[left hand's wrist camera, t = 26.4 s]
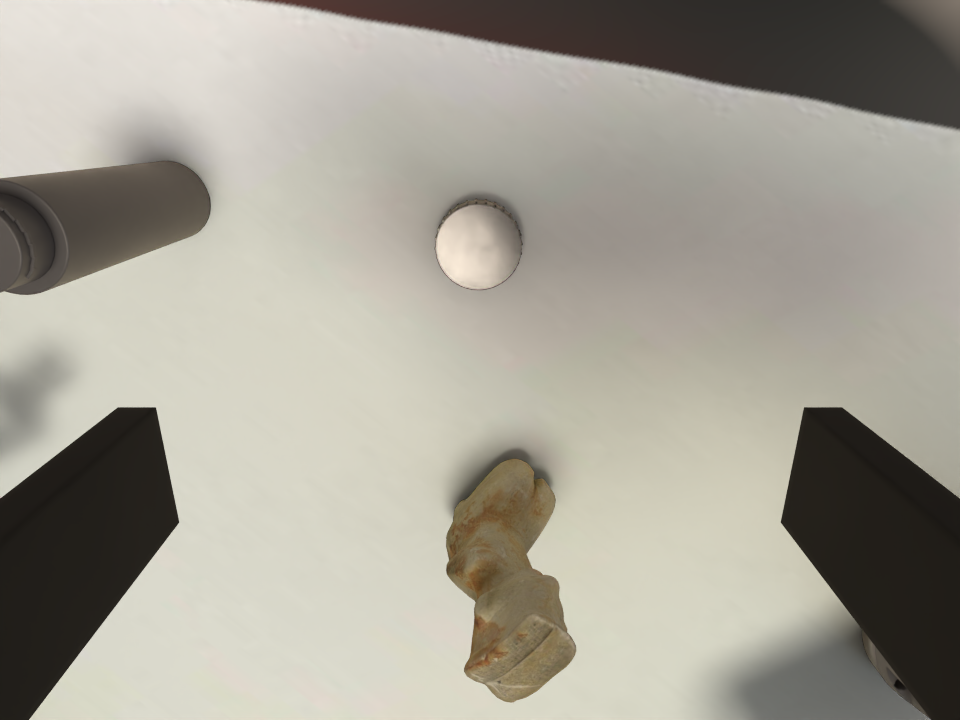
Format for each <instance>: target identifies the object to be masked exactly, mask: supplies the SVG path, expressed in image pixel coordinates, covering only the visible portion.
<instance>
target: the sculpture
mask: <svg viewBox="0 0 960 720" xmlns="http://www.w3.org/2000/svg"><path fill="white" fill-rule="evenodd" d="M555 501H556V500H555V495H554V493H553V492H552V490H551V489H550V487H549V486H548V485H547V483H546V482H545V480H543V479H534V471H533V470H532V468H531V467H530V466H529V464H527V463H526V462H524V461H522V460H519V459H510V460H506V461H504V462H502V463H500V464H499V465H497V466H496V467H495V468H494V469H493V470H492V471H491V472H490V473H489V474H488V475H487V476H486V477H485V478H484V480H483V481H482V482H481V483H480V484H479V485H478V486H477V487H476V489H475V490H474V491H473V493H472V494H471V495H470V496H469V497H468V498H467V500H466V499H464V500H462V501H461V502H460V503H459V504H458V505H457V507H456V508H455V511H454V517H453V523H452V525H451V527H450V529H449V531H448V533H447V537H446V539H447V540H446V547H447V552H448V557H449V562H448V564H447V569H446V571H447V575H448V577H449V578H450V579H451V580H452V581H453V583H454V584H455V585H456V586H457V587H459V588H460V589H461V590H462V591H463V592H464V593H466V594H467V595H468V596H469V597H470V598H472V599H473V600H474V601H475V602H476V603H475V608H474V616H475V619H474V629H473V637H472V646H471V654H470V658H469V660H468V662H467V663H466V665H465V668H464V672H465V674H466V675H467V676H468V677H469V678H471V679H473V680H474V681H476V682H480V683H483V684H485V685H486V686H487V687H488V688H489V689H490V691H491V692H492V693H493V694H494V695H495V696H496V697H497V698H499V699H501V700H503V701H506V702H515V701H516V700H519V699H523V698H526V697H528V696H529V695H531V694H533V693H534V692H536V691H538V690H539V689H540V688H541V687H542V686H543V685H544V684H545V683H547V682H548V681H549V680H550V679H551V678H552V677H554V676H555V675H556V674H557V673H559V672H560V671H561V670H563V669H564V668H565V667H567V665H568V664H569V663H570V662H571V661H572V659H573V657H574V656H575V653H576V645H575V643H574V641H573V639H572V638H571V636H570V635H569V634H568V633H567V628H566V625H565V623H564V615H563V608H562V605H561V602H560V599H559V583H558V581H557V580H556V579H555V578H554V577H552V576H548V575H542V573H541V572H539V571H537V570H535V569H532V567H531V564H530V562H529V559H528V557H527V552H528V551H529V550H530V548H531V547H532V545H533V544H534V543H535V541H536V540H537V538H538V537H539V535H540V534H541V532H542V531H543V529H544V527H545V525H546V524H547V522H548V520H549V518H550V517H551V515H552V513H553V510H554V507H555Z"/></svg>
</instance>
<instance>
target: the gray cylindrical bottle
mask: <svg viewBox="0 0 960 720" xmlns="http://www.w3.org/2000/svg"><path fill="white" fill-rule="evenodd" d="M209 213H210V199H209V195H208V192H207V190H206V188H205V186H204V184H203V182H202V181H201V180H200V178H199V177H198V176H197V175H196V174H195V173H194V172H193V171H191V170H190V169H189V168H187V167H185V166H183V165H181V164H179V163H175V162H171V161H160V162H150V163H141V164H132V165H122V166H113V167H104V168H94V169H85V170H75V171H66V172H57V173H47V174H38V175H29V176H19V177H10V178H1V179H0V293H1V292H3V291H6V292H9V293H14V294H20V295H31V294H37V293H41V292H44V291H47V290H49V289H52V288H55V287H57V286H60V285H63V284H65V283H68V282H71V281H73V280H76V279H79V278H81V277H84V276H87V275H89V274H92V273H95V272H97V271H100V270H103V269H105V268H108V267H110V266H113V265H116V264H118V263H121V262H124V261H126V260H129V259H132V258H134V257H137V256H140V255H142V254H145V253H148V252H150V251H153V250H156V249H158V248H161V247H164V246H166V245H169V244H172V243H174V242H177V241H179V240H182V239H185V238H187V237H190V236H193V235H194V234H196V233H198V232H199V231H200V230H201V229H202V228H203V227H204V225H205V224H206V222H207V220H208V217H209Z"/></svg>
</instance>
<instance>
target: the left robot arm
mask: <svg viewBox="0 0 960 720" xmlns="http://www.w3.org/2000/svg"><path fill="white" fill-rule="evenodd" d="M178 523H179V519H178V514H177V509H176V504H175V500H174V495H173V490H172V485H171V480H170V475H169V470H168V465H167V460H166V455H165V450H164V445H163V440H162V435H161V431H160V426H159V421H158V416H157V411H156V408H117V409H115V410H114V411H113V412H112V413H110V414H109V415H108V416H106V417H105V418H104V419H103V420H101V421H100V422H99V423H97V424H96V425H95V426H93V427H92V428H91V429H90V430H88V431H87V432H86V433H84V434H83V435H82V436H81V437H79V438H78V439H77V440H75V441H74V442H73V443H72V444H70V445H69V446H68V447H66V448H65V449H64V450H62V451H61V452H60V453H59V454H57V455H56V456H55V457H53V458H52V459H51V460H50V461H48V462H47V463H46V464H44V465H43V466H42V467H41V468H39V469H38V470H37V471H35V472H34V473H33V474H31V475H30V476H29V477H28V478H26V479H25V480H24V481H22V482H21V483H20V484H19V485H17V486H16V487H15V488H13V489H12V490H11V491H10V492H8V493H7V494H6V495H4V496H3V497H2V498H0V720H29V719H30V718H31V716H32V715H33V714H34V712H35V711H36V710H37V708H38V707H39V706H40V704H41V703H42V702H43V701H44V699H45V698H46V697H47V695H48V694H49V693H50V691H51V690H52V689H53V687H54V686H55V685H56V683H57V682H58V681H59V680H60V678H61V677H62V676H63V674H64V673H65V672H66V670H67V669H68V668H69V666H70V665H71V664H72V662H73V661H74V660H75V659H76V657H77V656H78V655H79V653H80V652H81V651H82V649H83V648H84V647H85V645H86V644H87V643H88V641H89V640H90V639H91V638H92V636H93V635H94V634H95V632H96V631H97V630H98V628H99V627H100V626H101V624H102V623H103V622H104V620H105V619H106V618H107V616H108V615H109V614H110V613H111V611H112V610H113V609H114V607H115V606H116V605H117V603H118V602H119V601H120V599H121V598H122V597H123V595H124V594H125V593H126V592H127V590H128V589H129V588H130V586H131V585H132V584H133V582H134V581H135V580H136V578H137V577H138V576H139V574H140V573H141V572H142V571H143V569H144V568H145V567H146V565H147V564H148V563H149V561H150V560H151V559H152V557H153V556H154V555H155V553H156V552H157V551H158V550H159V548H160V547H161V546H162V544H163V543H164V542H165V540H166V539H167V538H168V536H169V535H170V534H171V532H172V531H173V530H174V529H175V527H176V526H177V525H178ZM781 523H782V525H783V526H784V527H785V529H786V530H787V531H788V532H789V534H790V535H791V536H792V538H793V539H794V540H795V542H796V543H797V544H798V546H799V547H800V548H801V550H802V551H803V552H804V553H805V555H806V556H807V557H808V559H809V560H810V561H811V563H812V564H813V565H814V567H815V568H816V569H817V571H818V572H819V573H820V574H821V576H822V577H823V578H824V580H825V581H826V582H827V584H828V585H829V586H830V588H831V589H832V590H833V592H834V593H835V594H836V595H837V597H838V598H839V599H840V601H841V602H842V603H843V605H844V606H845V607H846V609H847V610H848V611H849V613H850V614H851V615H852V617H853V618H854V619H855V620H856V622H857V623H858V624H859V626H860V627H861V628H862V638H863V644H864V648H865V651H866V653H867V656H868V657H869V659H870V661H871V662H872V664H873V665H874V667H875V668H876V669H877V671H878V672H879V673H880V675H881V676H882V678H883V679H884V680H885V681H886V683H887V684H888V685H889V686H890V687H891V688H892V689H893V690H894V691H896V692H897V693H898V694H899V695H900V696H901V697H903V698H904V699H905V700H906V701H908V702H909V703H911V704H912V705H913V706H914V707H916V708H917V709H918V710H919V711H921V712H922V713H923V714H925V715H926V716H927V717H929V718H930V719H931V720H960V498H958V497H957V496H956V495H954V494H953V493H952V492H950V491H949V490H948V489H947V488H945V487H944V486H943V485H941V484H940V483H939V482H938V481H936V480H935V479H934V478H932V477H931V476H930V475H929V474H927V473H926V472H925V471H923V470H922V469H921V468H919V467H918V466H917V465H916V464H914V463H913V462H912V461H910V460H909V459H908V458H907V457H905V456H904V455H903V454H901V453H900V452H899V451H898V450H896V449H895V448H894V447H892V446H891V445H890V444H888V443H887V442H886V441H885V440H883V439H882V438H881V437H879V436H878V435H877V434H876V433H874V432H873V431H872V430H870V429H869V428H868V427H867V426H865V425H864V424H863V423H861V422H860V421H859V420H857V419H856V418H855V417H854V416H852V415H851V414H850V413H848V412H847V411H846V410H845V409H843V408H804V411H803V416H802V421H801V426H800V431H799V435H798V440H797V445H796V450H795V455H794V460H793V465H792V470H791V475H790V480H789V485H788V490H787V495H786V499H785V504H784V509H783V514H782V519H781Z"/></svg>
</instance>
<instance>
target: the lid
mask: <svg viewBox="0 0 960 720" xmlns="http://www.w3.org/2000/svg"><path fill="white" fill-rule="evenodd" d="M517 226H518V225H517V222H516V221H514V220H513V217H512V215H511V213H508V212H507V211H506V210H505V208H504V207H501V206H499V205H497V204H496V202H494V203H493V202H490V201H487V199H485V200H477V199H475V200H472V201H468V200H466V202H464V203H462V204H460V205H459V204H457V206H456V207H455V208H454V209H452V210H451V209H450V210H449V213H448V214H447V215H446V217H445V216H444V217H443V219H442V224H441V225H439V227H438V234H437V235H436V237H435V240H436V246H435V250H436V256H437V257H436V258H437V260H438V263H439V265H440V268H441V269H442V270H443V272H444V273H445V274H446V276H447V277H448V278H449V279H450V280H452V281H453V282H454V283H456V284H458V285H460V286H462V287H464V288H467V289H472V290H485V289H490V288H493V287H495V286H498V285H500V284H501V283H503V282H504V281H505V280H507V279H508V278H509V277H510V276H511V275H512V273H513V272H514V271H515V269H516V267H517V265H518V264H519V260H520V256H521V255H522V252H521V250H522V245H523V244H522V241H521V237H520V236H521V233H520V230H518V228H517Z"/></svg>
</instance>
